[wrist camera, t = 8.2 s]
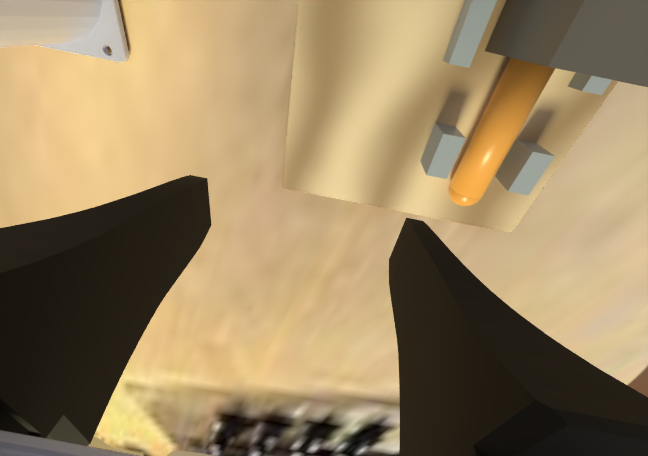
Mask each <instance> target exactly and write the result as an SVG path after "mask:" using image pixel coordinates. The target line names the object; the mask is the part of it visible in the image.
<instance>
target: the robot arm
mask: <svg viewBox="0 0 648 456" xmlns="http://www.w3.org/2000/svg"><path fill="white" fill-rule="evenodd" d="M33 45H36V46H41V47H46V48H51V49H56V50H61V51H66V52H71V53H75V54H80V55H85V56H90V57H95V58H100V59H105V60H110V61H115V62H126V61H127V60H128V59H129V51H128V46H127V42H126V37H125V32H124V27H123V22H122V18H121V13H120V8H119V3H118V0H0V48H7V47H20V46H33ZM108 46H109V47H110V48H111V50H112V54H110V53H109V51H108ZM210 226H211V216H210V205H209V193H208V182H207V178H202V177H197V176H192V175H189V176H185V177H182V178H179V179H176V180H173V181H170V182H167V183H164V184H162V185H159V186H156V187H153V188H151V189H148V190H145V191H142V192H140V193H137V194H134V195H131V196H128V197H125V198H122V199H119V200H116V201H113V202H110V203H107V204H104V205H101V206H97V207H94V208H90V209H87V210H83V211H80V212H76V213H72V214H67V215H63V216H59V217H55V218H51V219H46V220H41V221H36V222H31V223H25V224H20V225H15V226H10V227H5V228H0V456H139V455H133V454H128V453H122V452H116V451H111V450H106V449H100V448H95V447H89V446H88V445H89V444H90V443H91V441H92V438H93V436H94V434H95V431H96V429H97V427H98V425H99V422H100V420H101V418H102V416H103V414H104V411H105V409H106V407H107V405H108V403H109V400H110V398H111V396H112V394H113V392H114V390H115V388H116V385H117V383H118V381H119V379H120V377H121V375H122V373H123V371H124V369H125V367H126V365H127V363H128V361H129V359H130V357H131V355H132V353H133V351H134V350H135V348H136V346H137V344H138V342H139V340H140V338H141V336H142V335H143V333H144V331H145V329H146V327H147V325H148V324H149V322H150V320H151V318H152V317H153V315H154V313H155V311H156V310H157V308H158V306H159V305H160V303H161V302H162V300H163V298H164V297H165V295H166V294H167V293H168V291H169V290H170V288H171V287H172V286H173V284H174V283H175V281H176V280H177V279H178V277H179V276H180V275H181V273H182V272H183V270H184V269H185V268H186V266H187V265H188V263H189V262H190V261H191V259H192V258H193V256H194V255H195V254H196V252H197V251H198V249H199V248H200V246H201V244H202V242H203V241H204V239H205V237H206V235H207V233H208V231H209V229H210ZM389 286H390V293H391V301H392V307H393V314H394V321H395V328H396V335H397V343H398V354H399V382H400V456H648V397H646V396H644V395H643V394H641V393H639V392H637V391H636V390H634V389H632V388H631V387H629V386H627V385H626V384H624V383H622V382H620V381H619V380H617V379H615V378H614V377H612V376H610V375H608V374H607V373H605V372H603V371H601V370H600V369H598V368H597V367H595V366H593V365H592V364H590V363H589V362H587V361H586V360H584V359H582V358H581V357H579V356H578V355H576V354H575V353H573V352H572V351H570V350H569V349H567V348H565V347H564V346H562V345H561V344H560V343H558V342H557V341H555V340H554V339H552V338H551V337H549V336H548V335H546V334H545V333H544V332H542V331H541V330H540V329H538V328H537V327H536V326H534V325H533V324H531V323H530V322H529V321H527V320H526V319H525V318H523V317H522V316H521V315H519V314H518V313H517V312H516V311H514V310H513V309H512V308H510V307H509V306H508V305H507V304H506V303H505V302H503V301H502V300H501V299H500V298H499V297H497V296H496V295H495V294H494V293H493V292H492V291H490V290H489V289H488V288H487V287H486V286H485V285H484V284H483V283H482V282H481V281H480V280H479V279H478V278H476V277H475V276H474V275H473V274H472V273H471V272H470V271H469V270H468V269H467V268H466V267H465V266H464V265H463V264H462V263H461V262H460V260H459V259H458V258H457V257H456V256H455V255H454V254H453V253H452V252H451V251H450V250H449V249H448V247H447V246H446V245H445V244H444V243H443V242H442V241H441V240H440V239H439V237H438V236H437V235H436V234H435V233H434V232H433V231H432V230H431V229H430V227H429V226H428V225H427V224H426V223H425V222H423V221H420V220H415V219H410V218H406V220H405V222H404V225H403V227H402V230H401V232H400V234H399V237H398V239H397V242H396V244H395V247H394V249H393V252H392V254H391V256H390V259H389Z"/></svg>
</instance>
